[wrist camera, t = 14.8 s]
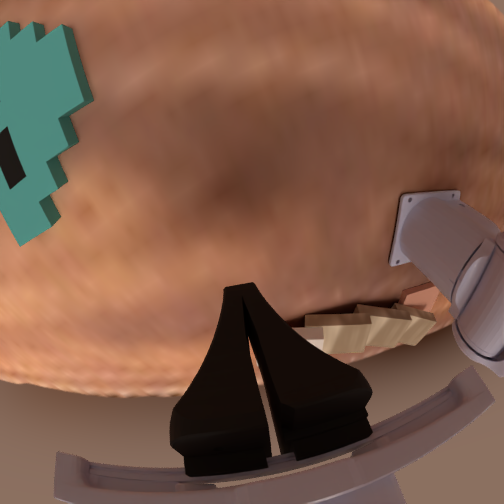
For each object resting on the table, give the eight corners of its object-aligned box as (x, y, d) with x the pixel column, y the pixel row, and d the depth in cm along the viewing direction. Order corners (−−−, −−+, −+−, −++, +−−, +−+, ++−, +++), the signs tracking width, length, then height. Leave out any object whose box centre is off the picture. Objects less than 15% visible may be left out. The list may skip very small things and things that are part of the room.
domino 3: (400, 287, 30) (436, 276, 31) (389, 315, 32) (425, 303, 33) (406, 295, 28) (442, 283, 29) (395, 323, 31) (430, 310, 32)
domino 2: (357, 304, 28) (408, 310, 28) (343, 333, 31) (391, 338, 30) (359, 314, 27) (412, 320, 26) (344, 343, 30) (394, 347, 29)
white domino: (254, 327, 27) (323, 327, 26) (258, 354, 30) (319, 354, 29) (252, 339, 26) (323, 339, 25) (257, 365, 29) (319, 366, 27)
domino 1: (305, 314, 28) (369, 312, 26) (304, 343, 30) (361, 341, 29) (304, 326, 26) (371, 324, 25) (303, 354, 29) (363, 352, 28)
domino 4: (395, 302, 29) (433, 313, 29) (374, 328, 32) (412, 337, 32) (398, 311, 28) (436, 321, 28) (376, 338, 31) (415, 345, 31)
